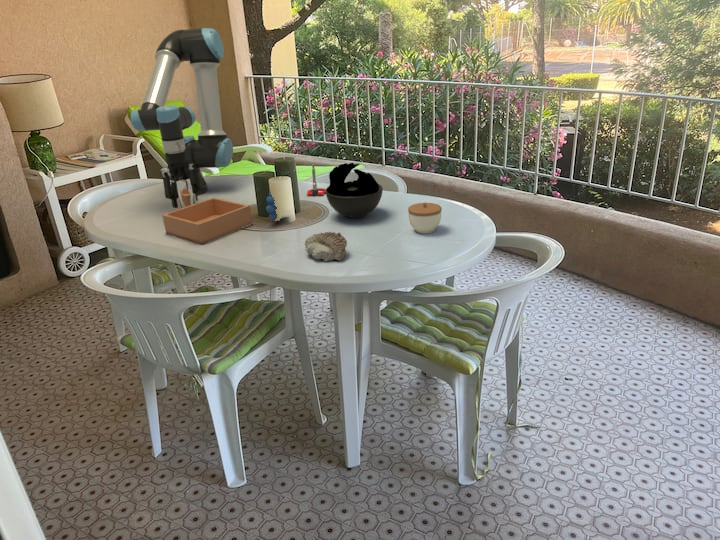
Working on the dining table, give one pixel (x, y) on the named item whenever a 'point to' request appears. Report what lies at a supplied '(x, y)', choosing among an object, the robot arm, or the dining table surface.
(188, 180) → the beer glass
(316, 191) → the tow hook
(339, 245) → the seashell
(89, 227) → the dining table surface
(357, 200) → the coal bowl
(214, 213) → the open box
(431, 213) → the lidded jar
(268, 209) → the grapes
